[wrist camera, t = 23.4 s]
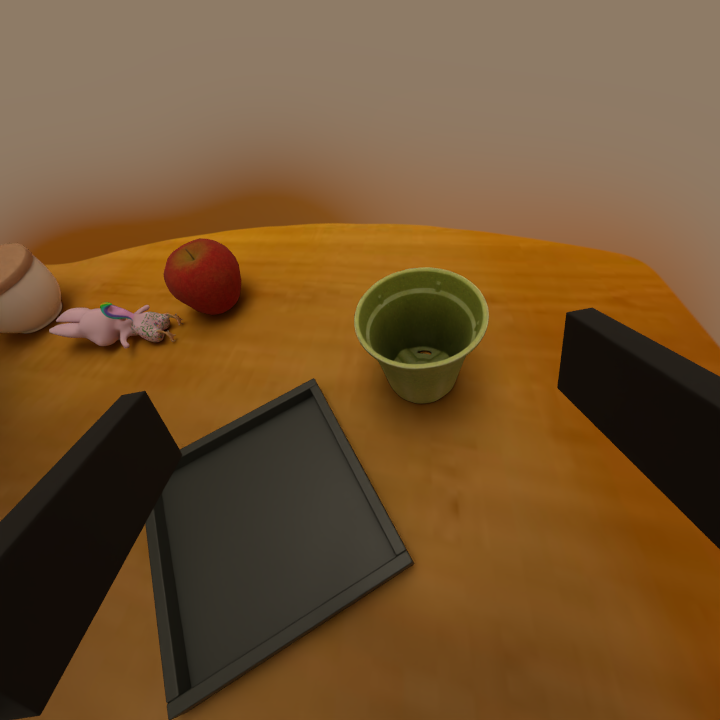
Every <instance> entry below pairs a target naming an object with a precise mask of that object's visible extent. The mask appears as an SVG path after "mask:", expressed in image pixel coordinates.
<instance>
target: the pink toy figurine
mask: <svg viewBox="0 0 720 720" xmlns="http://www.w3.org/2000/svg"><path fill="white" fill-rule="evenodd" d="M148 309H149V306H148V305H145V306H143V307H142V308H140V309H139V310H138V311H136V312H135V313H134V314H133V313H131V312H129V311H127V310H125V309H123V308H120V307H117V306H114V305H112V304H111V303H109V302H104V303H101V304H100V309H92V310H90V309H88V308H73V309H69V310H67V311H65V312H64V313H62V314H61V315H60V316H59V317H58V318H57V320H56V322H71V323H68V324H60V325H57V326H55V327H53V328H51V329H50V330H49V332H50V333H52V334H56V335H60V336H64V337H71V338H87V339H89V340H91V341H92V342H94V343H96V344H97V345H99V346H108V345H111V344H113V343H115V342H116V341H117V340H121V343H122V345H123V347H124V348H128V347H129V344H128V343H127V338H128V337H129V336H137V335H140V336H141V337H142V338H144V339H146V340H148V341H151V342H160V341H161V340H163V338H164V334H166V335H168V336H169V337H170V339H171V341H172V340H174V339H173V337H174V336H175V335H173V334H172V333H170V332H169V330H168V332H164V331H163V330H165V329H167V328H168V327H169V325H170V320H169V317H173V318H175V319H176V320H177V321H178V324H179V323H181V320H183V319H181V318H179V316H176V314H175V316H174V315H171V314H169V313H165V314H159V313H155V312H145V313H143V312H144V311H146V310H148ZM126 318H128V319H127V320H126ZM181 324H183V323H181ZM179 325H180V324H179ZM174 341H175V340H174ZM174 341H172V342H174Z"/></svg>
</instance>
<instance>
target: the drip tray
mask: <svg viewBox="0 0 720 720" xmlns="http://www.w3.org/2000/svg"><path fill="white" fill-rule="evenodd" d="M180 451H181V453H182V454H183V455H182V457H181V459H180V461H179V462H178V464H177V466H176V468H175V470H174V472H173V473H172V475H171V477H170V479H169V481H168V483H167V484H166V486H165V488H164V490H163V492H162V494H161V495H160V497H159V499H158V501H157V503H156V505H155V506H154V508H153V510H152V512H151V514H150V516H149V517H148V519H147V521H146V532H147V541H148V549H149V558H150V566H151V575H152V583H153V592H154V600H155V609H156V618H157V626H158V635H159V643H160V652H161V660H162V669H163V677H164V686H165V695H166V702H167V703H168V704H167V711H168V719H169V720H172V719H174V718H176V717H178V716H180V715H182V714H185V713H186V712H188V711H189V710H191V709H192V708H194V707H195V706H197V705H199V704H200V703H202V702H203V701H205V700H206V699H208V698H209V697H211V696H212V695H214V694H215V693H217V692H219V691H220V690H222V689H223V688H225V687H226V686H228V685H229V684H231V683H232V682H234V681H235V680H237V679H238V678H240V677H242V676H243V675H245V674H246V673H248V672H249V671H251V670H252V669H254V668H255V667H257V666H258V665H260V664H262V663H263V662H265V661H266V660H268V659H269V658H271V657H272V656H274V655H275V654H277V653H278V652H280V651H281V650H283V649H285V648H286V647H288V646H289V645H291V644H292V643H294V642H295V641H297V640H298V639H300V638H301V637H303V636H305V635H306V634H308V633H309V632H311V631H312V630H314V629H315V628H317V627H318V626H320V625H321V624H323V623H324V622H326V621H328V620H329V619H331V618H332V617H334V616H335V615H337V614H338V613H340V612H341V611H343V610H344V609H346V608H348V607H349V606H351V605H352V604H354V603H355V602H357V601H358V600H360V599H361V598H363V597H364V596H366V595H367V594H369V593H371V592H372V591H374V590H375V589H377V588H378V587H380V586H381V585H383V584H384V583H386V582H387V581H389V580H390V579H392V578H394V577H395V576H397V575H398V574H400V573H401V572H403V571H404V570H406V569H407V568H409V567H410V566H412V565H414V562H413V560H412V559H411V557H410V555H409V553H408V551H407V549H406V547H405V546H404V544H403V542H402V540H401V538H400V536H399V534H398V533H397V531H396V529H395V527H394V525H393V523H392V521H391V520H390V518H389V516H388V514H387V512H386V510H385V509H384V507H383V505H382V503H381V501H380V499H379V497H378V496H377V494H376V492H375V490H374V488H373V486H372V484H371V483H370V481H369V479H368V477H367V475H366V473H365V471H364V470H363V468H362V466H361V464H360V462H359V460H358V459H357V457H356V455H355V453H354V451H353V449H352V447H351V446H350V444H349V442H348V440H347V438H346V436H345V434H344V433H343V431H342V429H341V427H340V425H339V423H338V421H337V420H336V418H335V416H334V414H333V412H332V410H331V408H330V407H329V405H328V403H327V401H326V399H325V397H324V396H323V394H322V392H321V390H320V388H319V386H318V384H317V383H316V381H315V379H314V378H313V379H311V380H309V381H308V382H306V383H304V384H302V385H300V386H298V387H296V388H294V389H293V390H291V391H289V392H287V393H285V394H283V395H281V396H279V397H278V398H276V399H274V400H272V401H270V402H268V403H266V404H265V405H263V406H261V407H259V408H257V409H255V410H253V411H251V412H250V413H248V414H246V415H244V416H242V417H240V418H238V419H236V420H235V421H233V422H231V423H229V424H227V425H225V426H223V427H221V428H220V429H218V430H216V431H214V432H212V433H210V434H208V435H206V436H205V437H203V438H201V439H199V440H197V441H195V442H193V443H192V444H190V445H188V446H186V447H184V448H182V449H180Z"/></svg>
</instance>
